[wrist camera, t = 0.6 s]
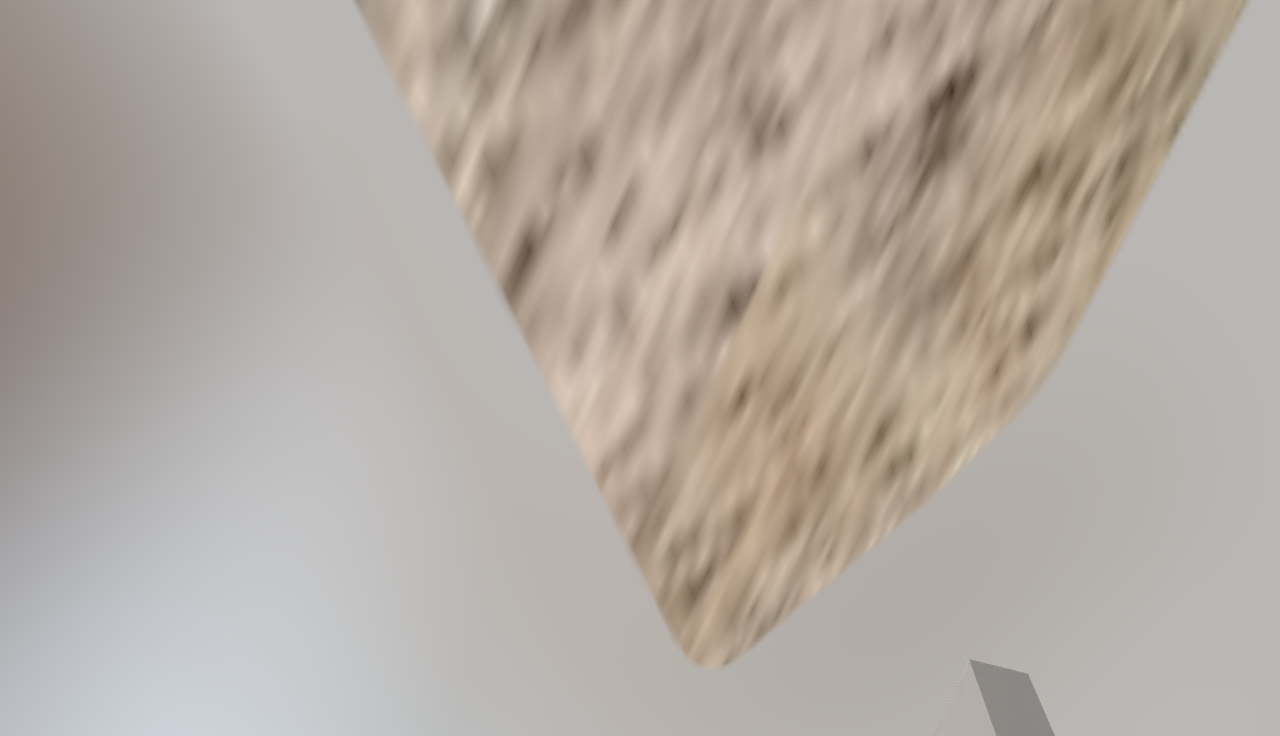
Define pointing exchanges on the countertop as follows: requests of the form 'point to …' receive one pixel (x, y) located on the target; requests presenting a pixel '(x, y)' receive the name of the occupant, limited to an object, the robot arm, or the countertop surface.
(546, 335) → the countertop surface
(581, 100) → the countertop surface
